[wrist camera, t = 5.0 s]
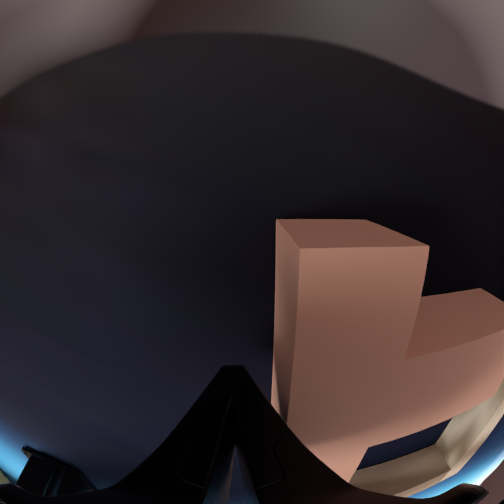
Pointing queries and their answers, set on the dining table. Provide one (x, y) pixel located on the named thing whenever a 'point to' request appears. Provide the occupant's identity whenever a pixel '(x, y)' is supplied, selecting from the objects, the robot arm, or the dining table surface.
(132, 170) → the dining table surface
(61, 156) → the dining table surface
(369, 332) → the t block
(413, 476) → the wooden l block
